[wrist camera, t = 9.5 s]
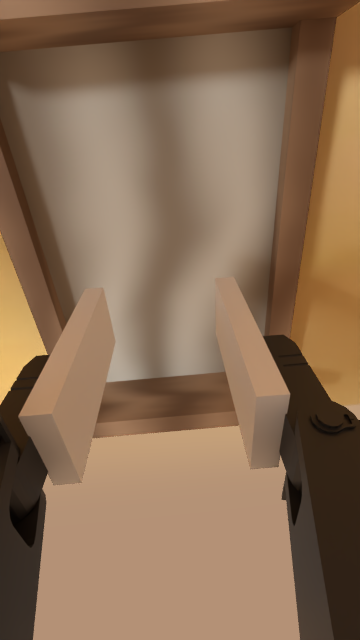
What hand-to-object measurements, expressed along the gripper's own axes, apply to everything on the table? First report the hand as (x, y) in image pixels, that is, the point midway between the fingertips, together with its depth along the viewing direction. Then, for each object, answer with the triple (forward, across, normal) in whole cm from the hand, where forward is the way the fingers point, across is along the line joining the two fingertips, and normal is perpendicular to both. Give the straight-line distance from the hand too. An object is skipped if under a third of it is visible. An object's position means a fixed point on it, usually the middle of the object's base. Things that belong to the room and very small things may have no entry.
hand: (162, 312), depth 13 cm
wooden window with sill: (+7, 0, 0) cm, 7 cm away
